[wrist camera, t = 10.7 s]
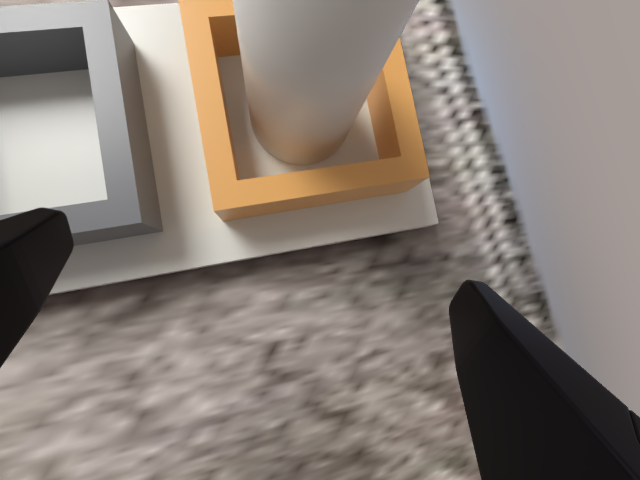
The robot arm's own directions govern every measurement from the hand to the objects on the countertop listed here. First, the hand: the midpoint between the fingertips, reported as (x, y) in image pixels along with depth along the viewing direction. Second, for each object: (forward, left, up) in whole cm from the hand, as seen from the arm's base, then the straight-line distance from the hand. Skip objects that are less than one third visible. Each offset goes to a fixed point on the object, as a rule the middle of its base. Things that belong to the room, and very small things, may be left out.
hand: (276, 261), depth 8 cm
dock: (+7, +3, -8) cm, 11 cm away
